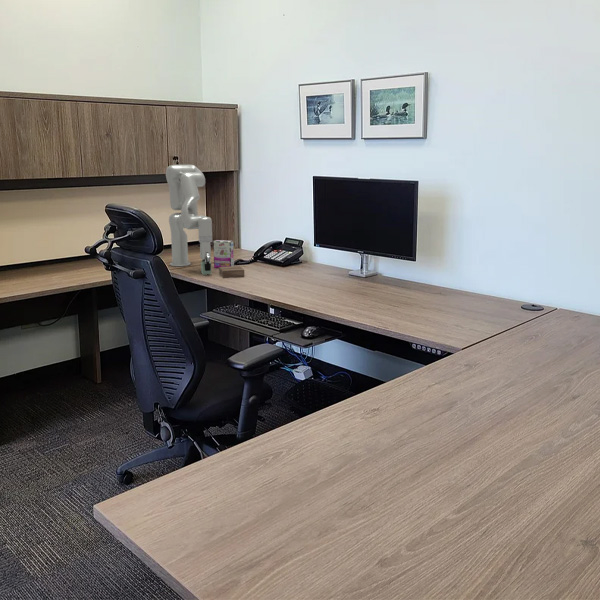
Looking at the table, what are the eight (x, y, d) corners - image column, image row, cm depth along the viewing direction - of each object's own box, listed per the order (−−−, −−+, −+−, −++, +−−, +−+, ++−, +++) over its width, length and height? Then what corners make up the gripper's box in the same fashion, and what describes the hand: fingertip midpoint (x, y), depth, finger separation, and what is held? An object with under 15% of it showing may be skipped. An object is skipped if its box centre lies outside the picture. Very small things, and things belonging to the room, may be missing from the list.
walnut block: (219, 273, 356) (218, 266, 355) (239, 272, 359) (239, 265, 358) (222, 278, 345) (222, 270, 344) (244, 276, 348) (244, 269, 347)
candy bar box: (234, 267, 374) (233, 240, 370) (231, 269, 369) (230, 241, 366) (217, 266, 377) (216, 239, 373) (213, 268, 373) (213, 240, 369)
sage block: (201, 273, 357) (200, 261, 356) (209, 272, 359) (209, 260, 357) (202, 275, 353) (202, 262, 351) (211, 274, 354) (211, 262, 352)
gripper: (196, 237, 358) (197, 266, 362) (201, 241, 342) (202, 272, 346) (209, 236, 360) (210, 266, 364) (214, 240, 344) (215, 271, 348)
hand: (206, 269), depth 355 cm, fingers open, 9 cm apart
